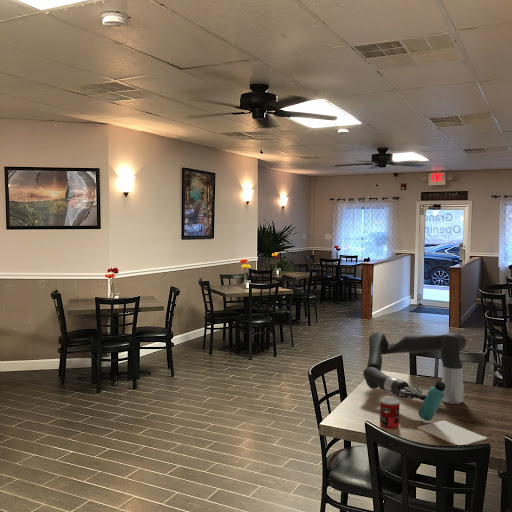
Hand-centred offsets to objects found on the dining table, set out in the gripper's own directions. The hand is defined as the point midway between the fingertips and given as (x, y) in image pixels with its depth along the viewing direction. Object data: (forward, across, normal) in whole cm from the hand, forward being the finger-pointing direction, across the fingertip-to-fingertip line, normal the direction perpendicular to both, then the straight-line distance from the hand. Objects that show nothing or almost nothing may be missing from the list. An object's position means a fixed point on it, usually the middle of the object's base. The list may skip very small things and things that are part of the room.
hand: (424, 398), depth 231 cm
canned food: (-4, +17, -11) cm, 20 cm away
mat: (+15, 0, -10) cm, 18 cm away
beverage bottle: (0, 0, -9) cm, 9 cm away
